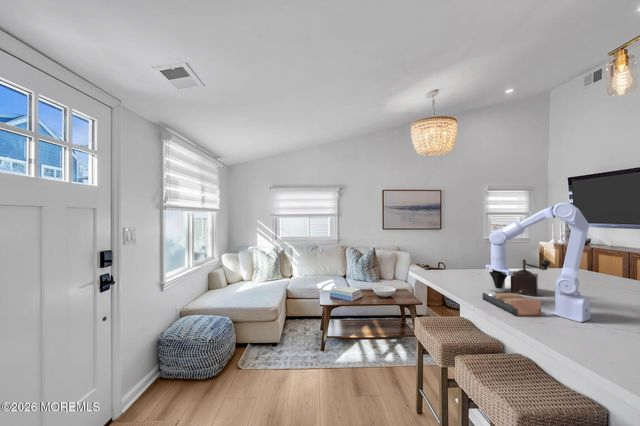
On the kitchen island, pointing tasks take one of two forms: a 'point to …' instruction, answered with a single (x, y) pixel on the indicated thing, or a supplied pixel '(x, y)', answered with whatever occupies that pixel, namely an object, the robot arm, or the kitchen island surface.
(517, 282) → the manual coffee grinder
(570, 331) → the kitchen island surface
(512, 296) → the tan flat block
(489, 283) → the can
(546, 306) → the kitchen island surface
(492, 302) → the roller bed
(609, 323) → the kitchen island surface
